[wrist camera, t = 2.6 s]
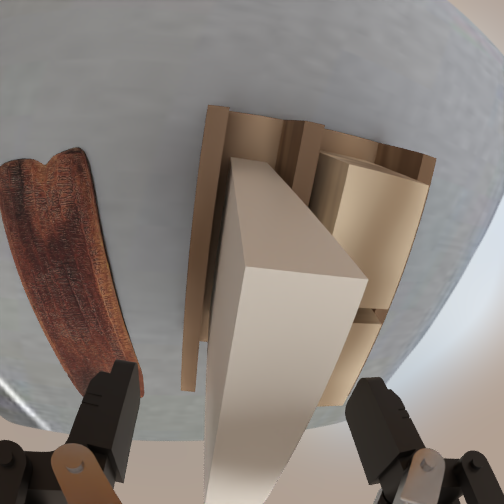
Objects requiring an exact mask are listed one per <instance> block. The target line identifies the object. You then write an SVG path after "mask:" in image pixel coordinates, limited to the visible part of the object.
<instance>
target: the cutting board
mask: <svg viewBox="0 0 504 504" xmlns="http://www.w3.org/2000/svg"><path fill="white" fill-rule="evenodd" d="M367 282H368V278H367V277H366V276H365V275H364V273H363V272H362V271H361V270H360V268H359V267H358V266H357V265H356V264H355V262H354V261H353V260H352V259H351V257H350V256H349V255H348V254H347V253H346V251H345V250H344V249H343V248H342V247H341V245H340V244H339V243H338V242H337V241H336V239H335V238H334V237H333V236H332V235H331V234H330V232H329V231H328V230H327V229H326V228H325V227H324V225H323V224H322V223H321V222H320V221H319V220H318V218H317V217H316V216H315V215H314V214H313V213H312V212H311V210H310V209H309V208H308V207H307V206H306V205H305V204H304V202H303V201H302V200H301V199H300V198H299V197H298V196H297V195H296V194H295V192H294V191H293V190H292V189H291V188H290V187H289V186H288V185H287V184H286V182H285V181H284V180H283V179H282V178H281V177H280V176H279V175H278V174H277V173H276V172H275V171H274V169H273V168H272V167H271V166H270V165H269V164H268V163H267V162H261V161H255V160H248V159H242V158H235V157H230V164H229V170H228V177H227V184H226V190H225V197H224V204H223V211H222V218H221V225H220V232H219V240H218V247H217V255H216V263H215V270H214V278H213V286H212V295H211V303H210V311H209V328H208V348H207V370H206V398H205V435H204V504H264V502H265V501H266V499H267V497H268V496H269V494H270V492H271V490H272V489H273V487H274V486H275V484H276V482H277V481H278V479H279V477H280V475H281V474H282V472H283V470H284V468H285V466H286V465H287V463H288V461H289V459H290V458H291V456H292V454H293V452H294V450H295V448H296V446H297V445H298V443H299V441H300V439H301V437H302V435H303V433H304V431H305V429H306V427H307V425H308V423H309V421H310V419H311V417H312V415H313V413H314V411H315V409H316V407H317V405H318V403H319V401H320V399H321V396H322V394H323V392H324V390H325V388H326V386H327V383H328V381H329V379H330V377H331V374H332V372H333V370H334V368H335V365H336V363H337V361H338V358H339V356H340V353H341V351H342V349H343V346H344V344H345V341H346V339H347V336H348V334H349V331H350V329H351V326H352V324H353V321H354V318H355V316H356V313H357V310H358V308H359V305H360V302H361V299H362V297H363V294H364V291H365V288H366V285H367Z"/></svg>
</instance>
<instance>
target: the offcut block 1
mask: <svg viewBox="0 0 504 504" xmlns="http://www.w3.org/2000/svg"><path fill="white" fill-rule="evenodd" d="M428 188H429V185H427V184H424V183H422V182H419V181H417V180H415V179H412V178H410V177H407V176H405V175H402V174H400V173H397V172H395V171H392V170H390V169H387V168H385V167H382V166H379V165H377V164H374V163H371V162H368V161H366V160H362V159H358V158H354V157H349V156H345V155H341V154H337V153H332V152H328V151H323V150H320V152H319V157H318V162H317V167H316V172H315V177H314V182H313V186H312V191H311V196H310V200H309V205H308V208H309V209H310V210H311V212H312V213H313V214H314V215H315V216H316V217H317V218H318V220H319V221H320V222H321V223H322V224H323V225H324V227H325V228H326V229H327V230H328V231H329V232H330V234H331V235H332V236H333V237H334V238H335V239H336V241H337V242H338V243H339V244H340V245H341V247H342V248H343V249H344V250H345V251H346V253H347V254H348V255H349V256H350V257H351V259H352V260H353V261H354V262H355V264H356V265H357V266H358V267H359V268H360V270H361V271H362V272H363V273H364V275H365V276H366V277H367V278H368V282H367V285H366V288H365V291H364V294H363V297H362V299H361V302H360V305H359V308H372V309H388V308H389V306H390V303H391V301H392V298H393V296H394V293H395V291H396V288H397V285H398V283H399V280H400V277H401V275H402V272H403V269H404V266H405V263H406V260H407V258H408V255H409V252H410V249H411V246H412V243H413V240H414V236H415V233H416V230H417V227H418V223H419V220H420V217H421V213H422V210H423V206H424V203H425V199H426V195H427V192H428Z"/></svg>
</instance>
